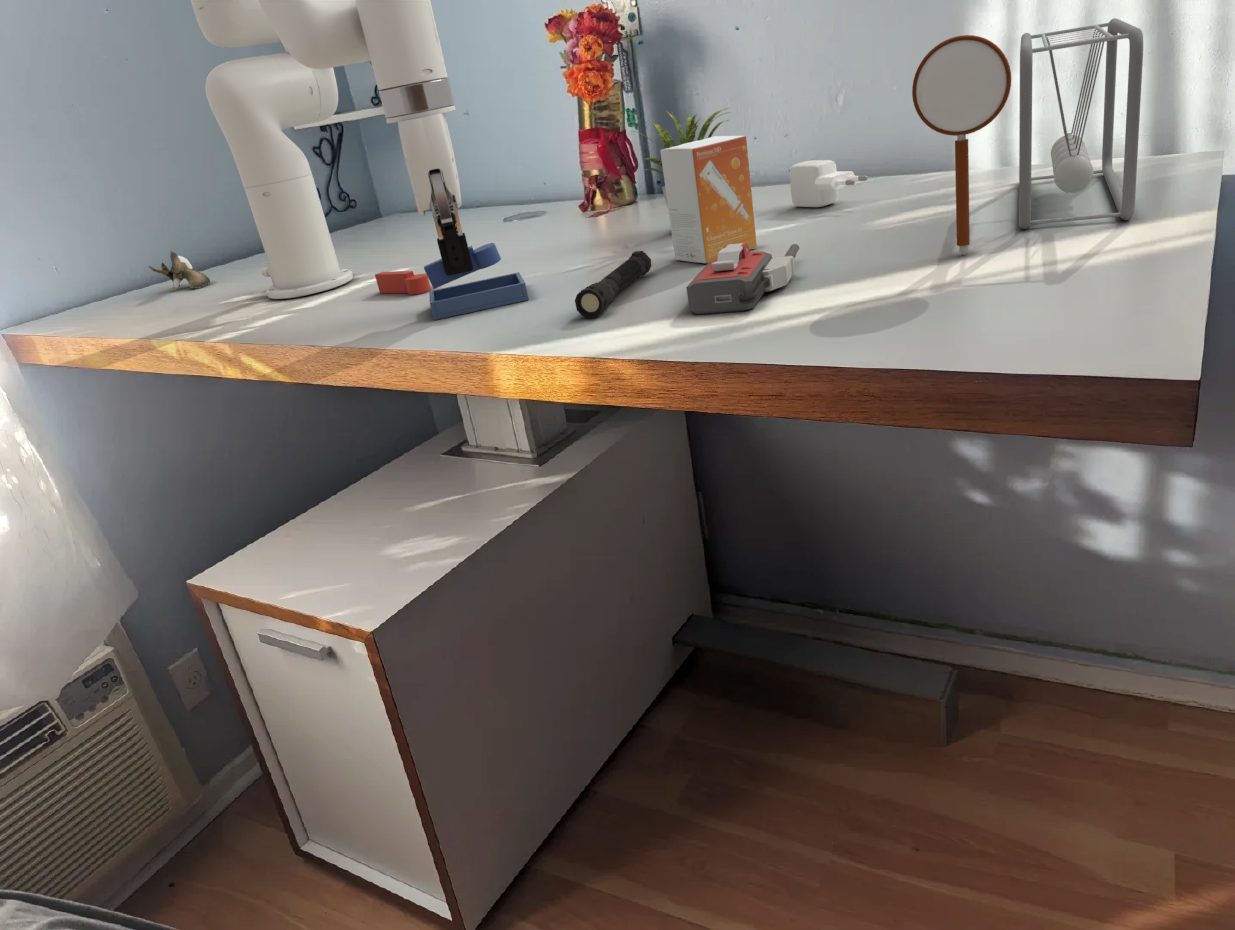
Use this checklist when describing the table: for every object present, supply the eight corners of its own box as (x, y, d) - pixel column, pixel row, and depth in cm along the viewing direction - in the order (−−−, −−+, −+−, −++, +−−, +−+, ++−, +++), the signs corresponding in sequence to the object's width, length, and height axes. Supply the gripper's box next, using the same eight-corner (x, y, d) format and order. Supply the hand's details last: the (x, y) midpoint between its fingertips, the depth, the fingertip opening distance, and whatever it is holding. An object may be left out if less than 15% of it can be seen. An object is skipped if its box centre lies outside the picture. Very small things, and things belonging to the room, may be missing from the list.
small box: (706, 265, 107) (691, 148, 101) (674, 260, 112) (658, 149, 107) (759, 247, 110) (747, 133, 105) (725, 244, 115) (712, 135, 110)
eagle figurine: (145, 289, 157) (167, 279, 151) (150, 249, 158) (173, 237, 152) (189, 301, 163) (213, 292, 157) (194, 262, 164) (218, 252, 158)
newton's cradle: (1134, 224, 91) (1145, 28, 84) (1018, 234, 95) (1019, 48, 88) (1111, 171, 116) (1118, 16, 109) (1020, 181, 120) (1021, 32, 113)
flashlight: (577, 319, 94) (572, 290, 93) (630, 276, 108) (626, 251, 107) (604, 317, 93) (599, 288, 92) (655, 274, 107) (651, 248, 106)
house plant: (771, 213, 129) (758, 89, 123) (727, 237, 119) (711, 103, 113) (682, 219, 137) (666, 102, 131) (634, 242, 127) (614, 117, 120)
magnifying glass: (916, 259, 93) (908, 44, 85) (919, 255, 94) (912, 43, 86) (1009, 253, 89) (1010, 27, 81) (1011, 249, 90) (1012, 26, 82)
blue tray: (434, 320, 105) (429, 303, 104) (433, 307, 111) (429, 291, 110) (528, 299, 106) (525, 282, 105) (522, 288, 112) (519, 271, 111)
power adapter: (874, 202, 124) (871, 156, 122) (850, 210, 122) (847, 164, 119) (811, 200, 133) (808, 158, 130) (788, 208, 130) (784, 165, 128)
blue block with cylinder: (433, 290, 105) (423, 269, 104) (433, 285, 108) (423, 264, 107) (502, 261, 105) (492, 239, 104) (500, 257, 108) (491, 236, 107)
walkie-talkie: (775, 312, 84) (806, 258, 101) (770, 264, 82) (802, 218, 99) (683, 319, 87) (728, 266, 104) (676, 273, 86) (723, 227, 102)
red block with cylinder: (375, 295, 124) (370, 276, 123) (391, 288, 126) (386, 270, 125) (419, 294, 119) (414, 275, 118) (435, 288, 121) (430, 268, 120)
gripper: (386, 108, 106) (426, 267, 113) (380, 110, 92) (427, 291, 99) (450, 96, 107) (487, 254, 114) (454, 96, 93) (496, 276, 100)
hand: (459, 270), depth 106 cm, fingers closed on blue block with cylinder, 1 cm apart
